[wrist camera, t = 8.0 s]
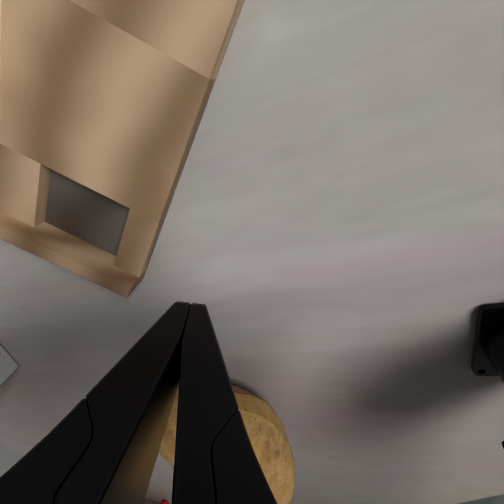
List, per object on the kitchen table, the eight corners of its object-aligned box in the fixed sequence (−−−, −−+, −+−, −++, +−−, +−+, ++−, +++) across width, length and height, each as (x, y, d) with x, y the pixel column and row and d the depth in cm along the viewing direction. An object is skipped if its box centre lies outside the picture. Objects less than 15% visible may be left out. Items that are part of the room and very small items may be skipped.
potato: (224, 332, 25) (194, 426, 18) (320, 423, 29) (325, 528, 22) (151, 372, 29) (105, 461, 22) (245, 447, 33) (230, 543, 26)
